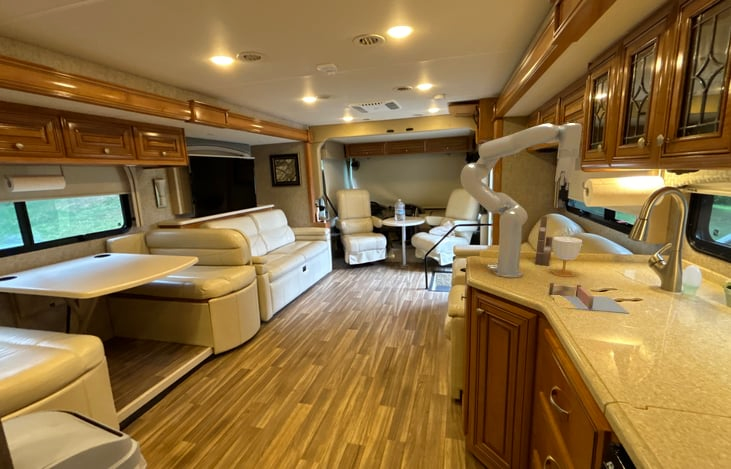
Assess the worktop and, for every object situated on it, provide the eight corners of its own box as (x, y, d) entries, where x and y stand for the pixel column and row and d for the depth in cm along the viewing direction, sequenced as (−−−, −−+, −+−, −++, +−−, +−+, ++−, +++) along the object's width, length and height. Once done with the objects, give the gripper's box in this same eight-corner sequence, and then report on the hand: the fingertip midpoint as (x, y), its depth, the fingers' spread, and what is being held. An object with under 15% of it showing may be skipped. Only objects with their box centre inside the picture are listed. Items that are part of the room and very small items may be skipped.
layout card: (559, 307, 121) (559, 306, 121) (548, 293, 134) (548, 292, 134) (628, 313, 116) (629, 312, 116) (610, 298, 129) (610, 297, 129)
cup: (562, 269, 166) (565, 235, 162) (583, 276, 155) (588, 240, 151) (543, 271, 162) (547, 237, 159) (564, 279, 151) (569, 242, 148)
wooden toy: (549, 266, 170) (554, 218, 165) (535, 264, 174) (539, 217, 169) (550, 259, 183) (555, 214, 178) (537, 257, 187) (541, 213, 182)
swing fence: (577, 296, 129) (578, 286, 128) (580, 296, 129) (581, 286, 128) (589, 308, 119) (590, 297, 118) (592, 308, 118) (594, 297, 118)
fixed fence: (549, 294, 132) (550, 283, 131) (548, 293, 134) (549, 282, 133) (580, 297, 130) (581, 286, 129) (578, 295, 131) (580, 284, 130)
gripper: (562, 155, 144) (558, 197, 147) (552, 154, 133) (548, 200, 137) (582, 154, 139) (577, 198, 142) (574, 154, 128) (568, 201, 132)
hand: (563, 199), depth 140 cm, fingers closed
